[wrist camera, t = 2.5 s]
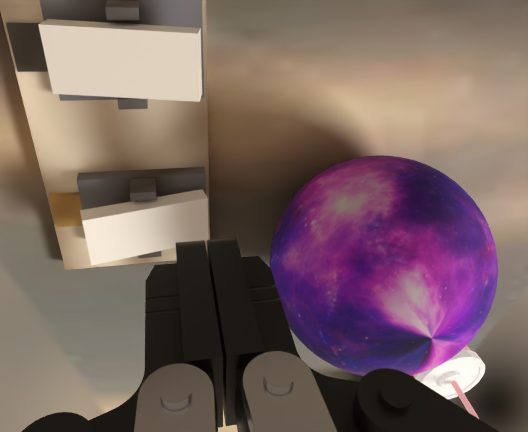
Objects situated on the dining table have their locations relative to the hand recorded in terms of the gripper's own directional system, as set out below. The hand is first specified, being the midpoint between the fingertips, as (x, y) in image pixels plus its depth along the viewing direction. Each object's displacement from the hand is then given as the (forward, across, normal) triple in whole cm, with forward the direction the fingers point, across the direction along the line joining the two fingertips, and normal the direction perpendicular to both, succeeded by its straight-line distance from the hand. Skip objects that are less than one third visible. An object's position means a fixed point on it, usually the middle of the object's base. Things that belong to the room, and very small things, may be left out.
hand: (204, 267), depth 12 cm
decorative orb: (+21, -13, +13) cm, 28 cm away
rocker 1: (+18, +2, 0) cm, 18 cm away
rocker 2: (+18, +2, +11) cm, 21 cm away
